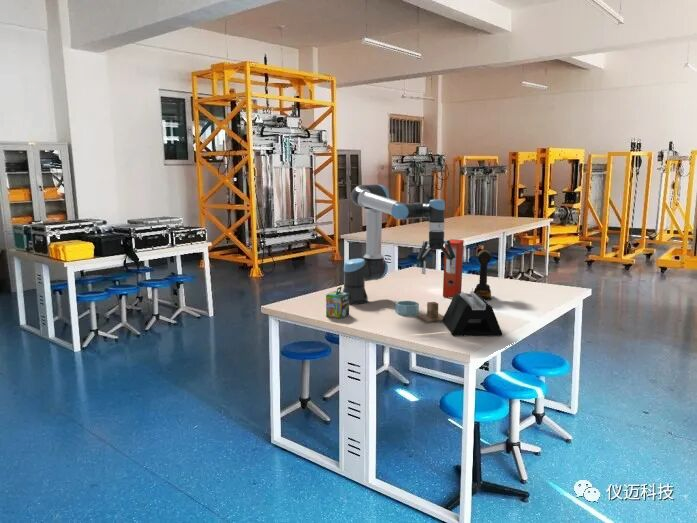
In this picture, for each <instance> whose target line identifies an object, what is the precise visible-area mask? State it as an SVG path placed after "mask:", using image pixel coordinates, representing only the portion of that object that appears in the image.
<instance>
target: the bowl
mask: <svg viewBox="0 0 697 523" xmlns="http://www.w3.org/2000/svg"><path fill="white" fill-rule="evenodd" d="M419 310H420V303H419V302H416V301H414V300H400V301H397V302H395V313H396V314H397V315H400V316H416V315H419V312H420V311H419Z"/></svg>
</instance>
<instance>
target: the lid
mask: <svg viewBox="0 0 697 523" xmlns="http://www.w3.org/2000/svg"><path fill="white" fill-rule="evenodd" d="M426 303H427V304H426V306H427V307H426V313H424V314H416V315H415V316H416V317H417V318H419V319H421V320H422V321H424V322H426V323H432V322H443V320H442V319H443V317H444V315H443V314H440V313H439V302H436V301H428V302H426ZM432 324H433V323H432Z"/></svg>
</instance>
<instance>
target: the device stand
mask: <svg viewBox="0 0 697 523" xmlns="http://www.w3.org/2000/svg"><path fill="white" fill-rule="evenodd" d="M469 295H471V296H468V295H467V294H466V293H465V291H462V290H461V293H460V294H455V295H454V297H453V298H451V301H450V303H449V305H448V307H447V310H446V312H445V314H444V315H443V316H444V317H443V319H442V320H443V322H444V323H443V324H444V325H445V326H446V328H447V329H448V331H449V332H450V334H451V335H452V336H453V337H502V336H503V332H502V329H501V327H500V324H499V322H498V318H497V316H496V314H495V312H494V309H493V306H492V305H490V304H489V303H488V302H487V300H484V299H483V298H482V297H480V296H479V295H478V294H475V293H474V292H473V290H471V291H470V292H469Z"/></svg>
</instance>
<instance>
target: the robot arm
mask: <svg viewBox="0 0 697 523" xmlns="http://www.w3.org/2000/svg"><path fill="white" fill-rule="evenodd" d="M350 199H351V201H352V203H353V204H354V205H356V206H357V207H361V208H363V209H364V211H365V212H366V228H365V229H366V237H365V238H366V239H365V240H366V242H365V243H366V244H365V246H366V247H365V248H366V249H365V254H364V255H363V258H351V259H347V260H346V261H345V262H344V264H343V290H342V292H346V293H349V305H350V304H351V305H359V304H365V303H368V302H369V300H368V299H369V298H368V294H367V291H366V285H365V283H366V282H370V281H378V280H381V279H383V278H385V277H386V275H387V274H388V271H389V266H388V263H387V261H386V259H384V258H385V257H384V255H383V254H382V234H383V233H382V227H383V226H382V224H383V223H382V219H383V213H384V214H387V215H390V216H392V217H393V218H394V219H395V220H401V221H403V220H410V219H428V220H429V221H428V230H429V231H428V241H426V240H423V241H422V245H421V247H420V250H419V252H418V254H417V257H416V260H418V261H419V265H420V268H421V274H423V275H426V267H427V266H426V264H427V261H425V260H426V259H427V257H428V256H430V253H431V252H432V251H433V250H434V251H436V250H437V251H438V250H441V251H442V253H443V255H444V254H445V256H446V257H447V258H448V259H446V272H448V273H450V266H451V264H452V260H453V258H455V255H454V252H453V250H452V248H451V246H450V241H449V240H450V239H445V216H446V215H445V213H446V204H445V203H446V202H445V200H444V199H430V200H429V202H414V203H405V202H400V201H398V200H395V199H392V198H390V194H389V191H388V189H387V187H385V186H384V185H383V184H360V185H356V187H354V188H353V190H352V191H351V194H350ZM444 239H445V240H444ZM445 244H446V247H447V249H448V251H449V253H448V252H447V251H446V249H445ZM449 254H450V255H449Z"/></svg>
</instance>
